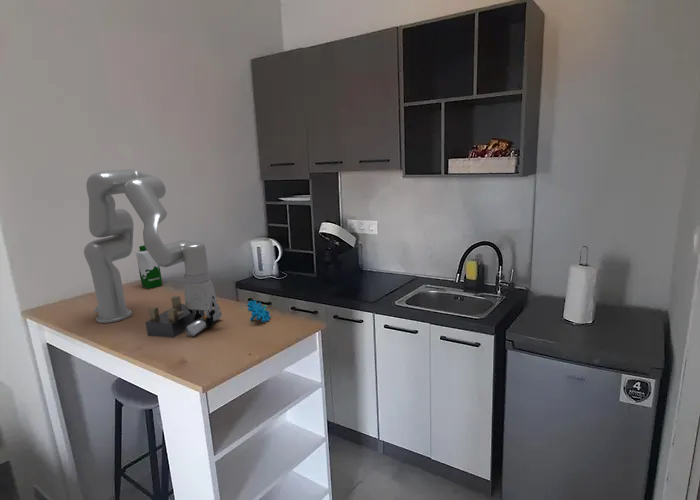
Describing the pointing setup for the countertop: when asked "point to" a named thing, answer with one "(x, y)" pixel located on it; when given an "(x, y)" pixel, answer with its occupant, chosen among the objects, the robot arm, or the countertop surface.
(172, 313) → the grey plate with feet
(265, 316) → the gear
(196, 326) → the tube
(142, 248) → the milk carton
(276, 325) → the countertop surface
